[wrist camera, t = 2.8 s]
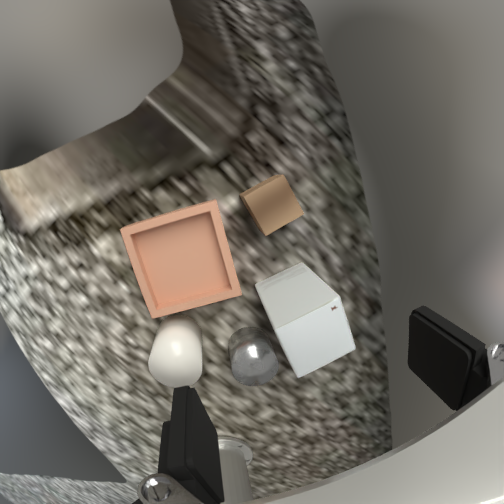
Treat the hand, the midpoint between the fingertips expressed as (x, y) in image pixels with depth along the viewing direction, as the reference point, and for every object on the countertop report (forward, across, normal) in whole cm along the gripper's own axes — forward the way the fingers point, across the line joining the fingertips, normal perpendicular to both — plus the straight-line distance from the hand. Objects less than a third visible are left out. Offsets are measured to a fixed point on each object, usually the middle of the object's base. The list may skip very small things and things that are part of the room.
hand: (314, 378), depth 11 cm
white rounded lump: (+28, +11, +10) cm, 32 cm away
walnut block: (+28, -5, -4) cm, 29 cm away
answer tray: (+28, +7, 0) cm, 29 cm away
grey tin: (+28, +2, +15) cm, 32 cm away
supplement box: (+28, -5, +9) cm, 30 cm away
